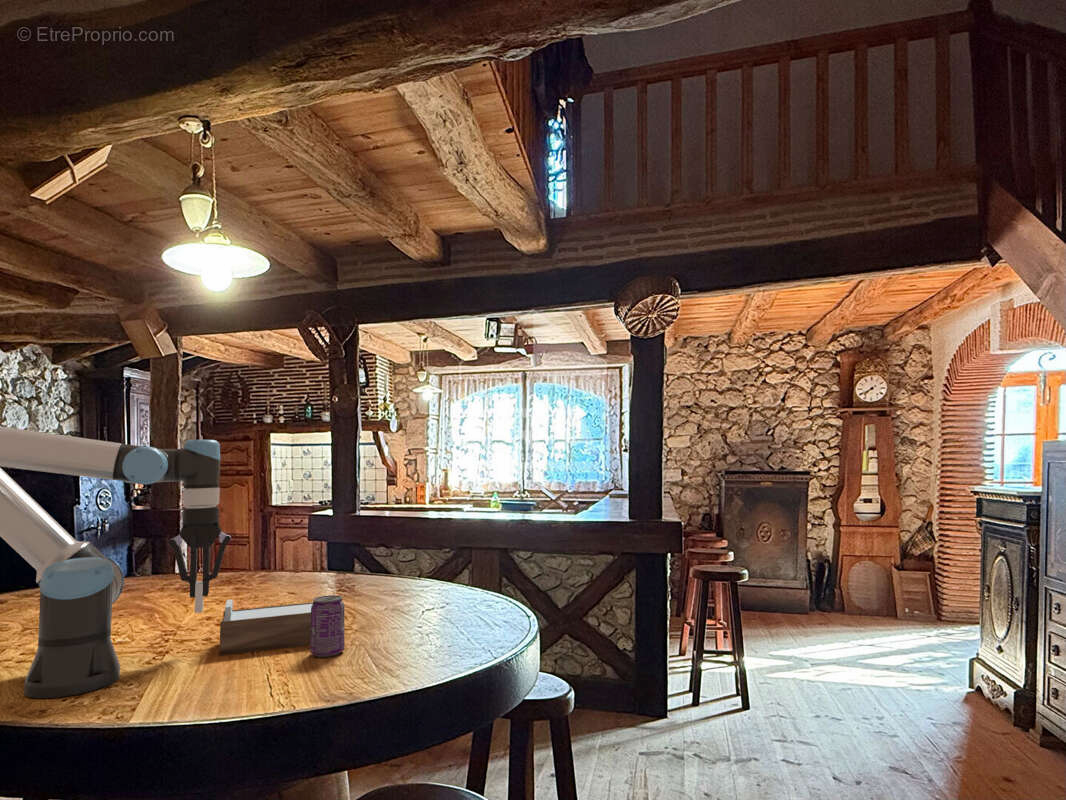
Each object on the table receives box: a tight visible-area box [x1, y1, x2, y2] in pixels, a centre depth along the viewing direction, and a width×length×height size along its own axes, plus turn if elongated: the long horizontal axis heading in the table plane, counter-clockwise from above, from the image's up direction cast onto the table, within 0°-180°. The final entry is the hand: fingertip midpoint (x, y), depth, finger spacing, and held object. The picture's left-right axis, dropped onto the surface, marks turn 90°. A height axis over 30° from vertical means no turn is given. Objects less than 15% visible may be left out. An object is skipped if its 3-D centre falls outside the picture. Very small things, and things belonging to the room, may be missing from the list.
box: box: [219, 601, 314, 657], centre depth 153 cm, size 12×22×7 cm, turn 112°
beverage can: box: [310, 594, 345, 658], centre depth 143 cm, size 7×7×12 cm
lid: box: [222, 599, 313, 621], centre depth 153 cm, size 11×21×4 cm, turn 112°
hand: (198, 611), depth 147 cm, fingers closed
